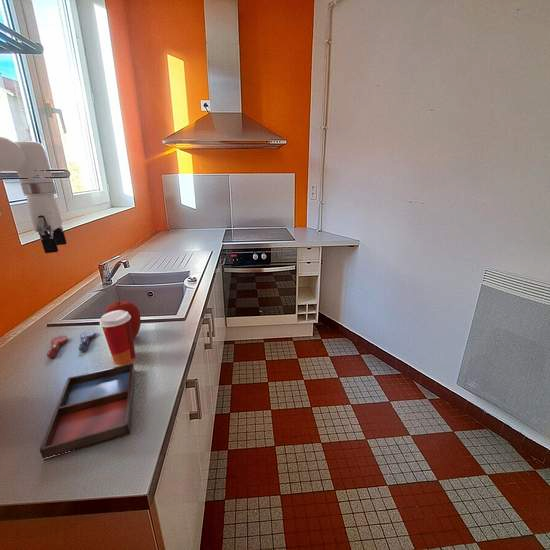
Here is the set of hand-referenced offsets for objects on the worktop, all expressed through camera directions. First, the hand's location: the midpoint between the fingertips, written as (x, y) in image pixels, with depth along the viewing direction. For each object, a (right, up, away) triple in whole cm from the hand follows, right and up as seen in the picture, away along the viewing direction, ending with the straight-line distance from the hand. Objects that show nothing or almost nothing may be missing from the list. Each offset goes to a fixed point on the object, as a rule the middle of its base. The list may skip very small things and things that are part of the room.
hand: (56, 248), depth 90 cm
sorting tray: (+25, -39, -22) cm, 51 cm away
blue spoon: (+6, -30, +4) cm, 31 cm away
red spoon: (-1, -31, +1) cm, 31 cm away
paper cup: (+23, -32, -4) cm, 40 cm away
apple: (+18, -29, +6) cm, 35 cm away
